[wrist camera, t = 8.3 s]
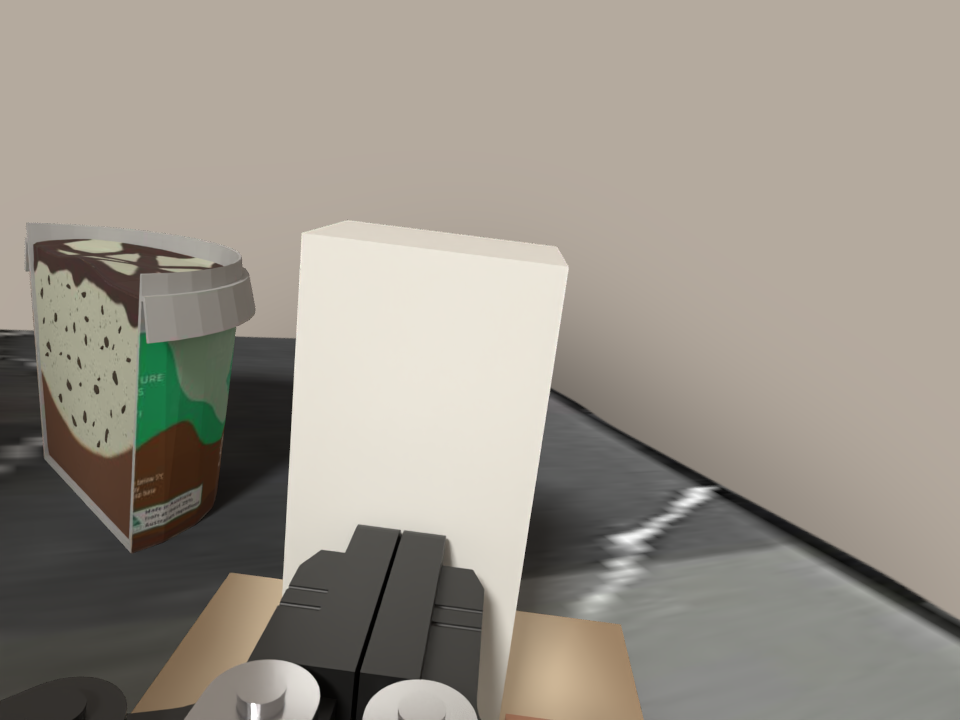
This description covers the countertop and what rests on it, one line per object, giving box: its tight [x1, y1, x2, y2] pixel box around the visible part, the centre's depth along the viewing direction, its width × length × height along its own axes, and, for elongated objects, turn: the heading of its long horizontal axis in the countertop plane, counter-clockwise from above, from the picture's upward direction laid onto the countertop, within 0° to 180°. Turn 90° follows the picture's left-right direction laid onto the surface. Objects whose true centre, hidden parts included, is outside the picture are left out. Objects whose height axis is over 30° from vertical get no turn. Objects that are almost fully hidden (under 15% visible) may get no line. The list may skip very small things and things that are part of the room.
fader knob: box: [282, 220, 569, 720], centre depth 13 cm, size 4×3×11 cm
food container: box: [25, 223, 255, 553], centre depth 28 cm, size 12×6×10 cm, turn 46°
